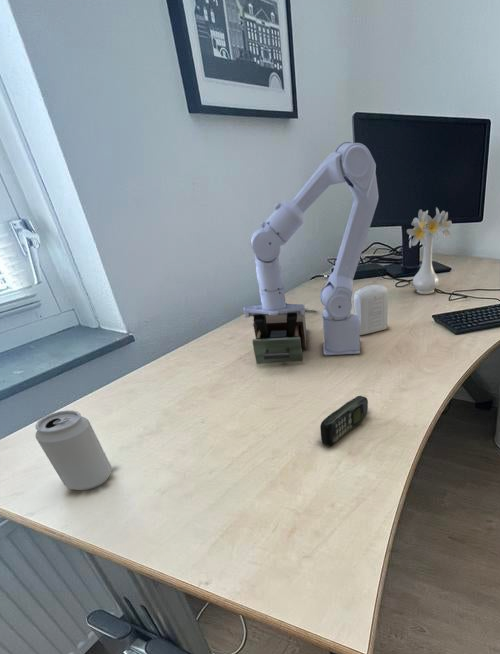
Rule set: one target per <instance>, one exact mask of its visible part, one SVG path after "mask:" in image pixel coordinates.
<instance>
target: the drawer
mask: <svg viewBox="0 0 500 654" xmlns="http://www.w3.org/2000/svg"><path fill="white" fill-rule="evenodd" d="M284 330H287V336H288V338H270V334H271V331H284ZM267 331H268V335H269V339H264V338H263V336H262V334H261V332H260V330H259V331H258V334H257V339H256V338H253V339H252V341H251V342H252V346H253V352H254V357H255V363H256V365H261V364H280V363H281V364H282V363H297V362H298V363H300V362H304V358H303V357H304V356H303V350H302V348H301V338H300V329H299V325H295V327H294V331H293V337H289V331H288V325H284V326H267Z"/></svg>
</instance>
